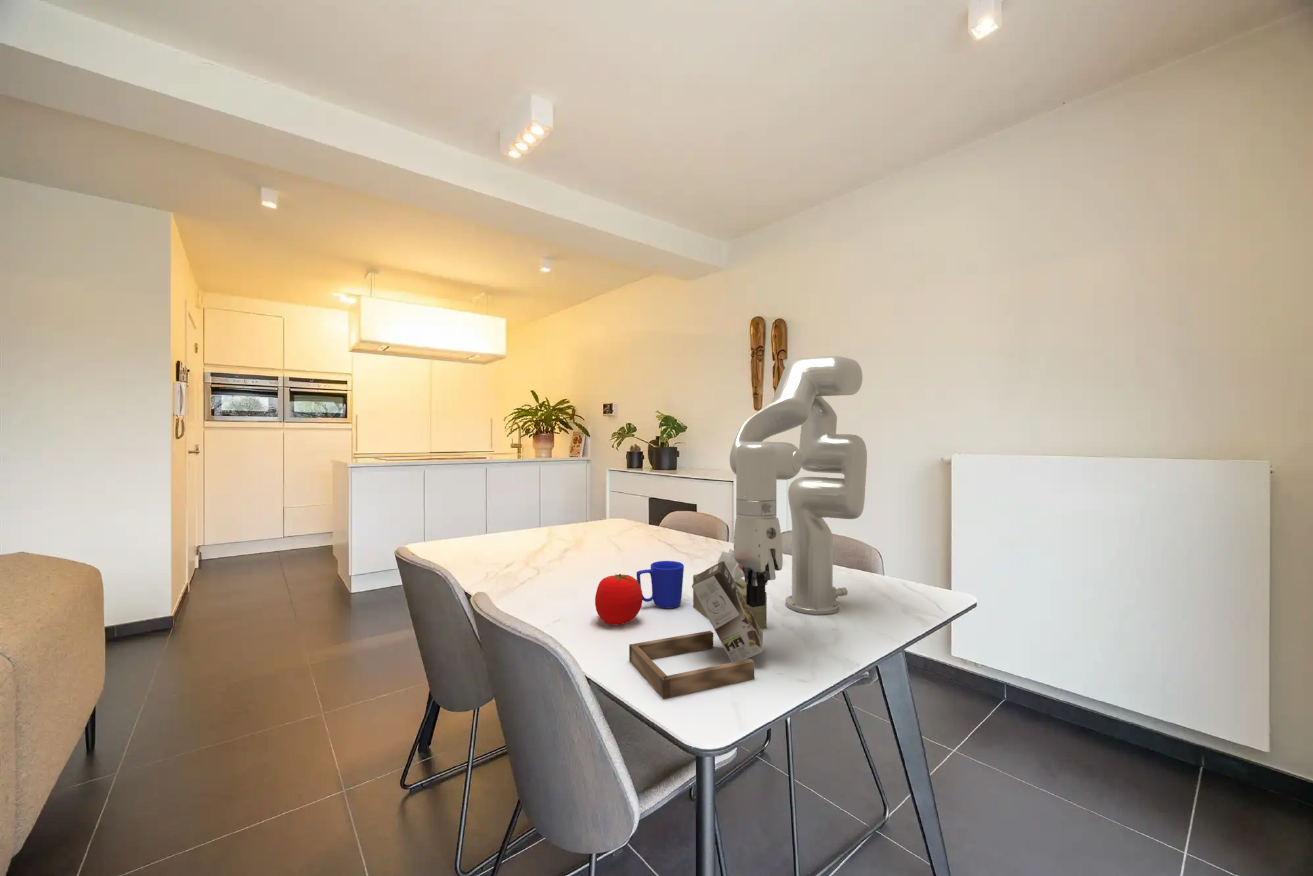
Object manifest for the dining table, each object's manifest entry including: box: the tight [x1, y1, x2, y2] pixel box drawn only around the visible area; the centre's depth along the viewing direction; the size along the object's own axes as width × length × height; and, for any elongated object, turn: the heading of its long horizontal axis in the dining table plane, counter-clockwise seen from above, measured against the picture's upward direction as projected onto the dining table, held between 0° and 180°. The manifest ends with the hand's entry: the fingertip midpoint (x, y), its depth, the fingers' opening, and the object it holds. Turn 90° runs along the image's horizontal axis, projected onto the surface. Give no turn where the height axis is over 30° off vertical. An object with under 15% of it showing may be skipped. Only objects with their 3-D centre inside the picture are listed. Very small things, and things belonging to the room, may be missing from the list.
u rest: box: [628, 630, 755, 700], centre depth 94 cm, size 17×15×3 cm
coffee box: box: [691, 561, 764, 663], centre depth 100 cm, size 9×6×16 cm
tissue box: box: [692, 548, 768, 630], centre depth 121 cm, size 19×10×16 cm, turn 19°
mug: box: [636, 560, 685, 609], centre depth 128 cm, size 8×12×10 cm
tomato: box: [594, 573, 644, 626], centre depth 117 cm, size 10×11×11 cm
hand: (755, 604), depth 99 cm, fingers closed
